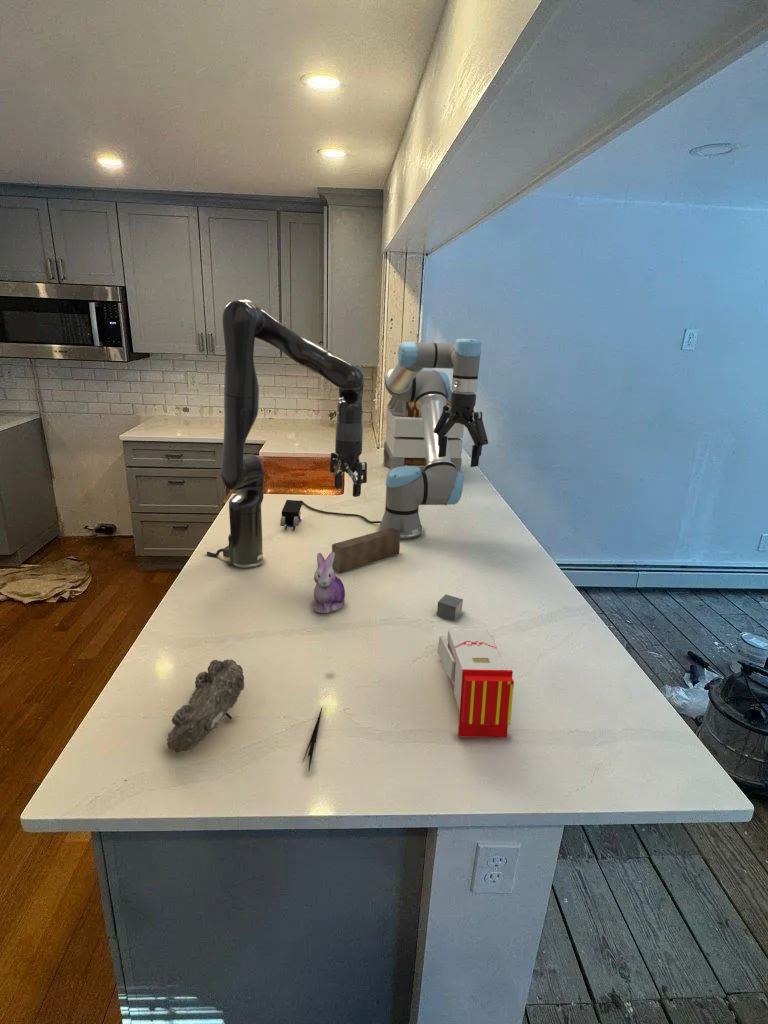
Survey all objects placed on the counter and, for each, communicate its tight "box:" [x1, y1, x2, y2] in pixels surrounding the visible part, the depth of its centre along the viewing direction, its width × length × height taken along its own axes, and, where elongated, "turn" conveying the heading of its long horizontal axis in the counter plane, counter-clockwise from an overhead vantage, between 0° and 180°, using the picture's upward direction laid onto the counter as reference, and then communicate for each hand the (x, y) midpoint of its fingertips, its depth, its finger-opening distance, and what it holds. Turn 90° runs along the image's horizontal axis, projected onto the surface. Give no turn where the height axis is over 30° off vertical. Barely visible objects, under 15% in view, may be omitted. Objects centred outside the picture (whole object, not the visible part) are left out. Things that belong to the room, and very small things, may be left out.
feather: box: [301, 673, 332, 771], centre depth 108 cm, size 2×28×2 cm
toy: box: [437, 628, 515, 738], centre depth 117 cm, size 12×13×30 cm
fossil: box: [166, 658, 245, 754], centre depth 106 cm, size 22×10×15 cm
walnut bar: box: [331, 528, 401, 574], centre depth 176 cm, size 24×4×8 cm, turn 131°
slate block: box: [436, 593, 464, 621], centre depth 148 cm, size 5×5×4 cm
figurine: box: [313, 551, 346, 614], centre depth 147 cm, size 9×10×15 cm
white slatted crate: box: [383, 389, 465, 472], centre depth 268 cm, size 34×33×41 cm
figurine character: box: [279, 499, 304, 532], centre depth 202 cm, size 7×8×15 cm
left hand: (347, 492), depth 164 cm, fingers open, 8 cm apart
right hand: (457, 461), depth 177 cm, fingers open, 13 cm apart
